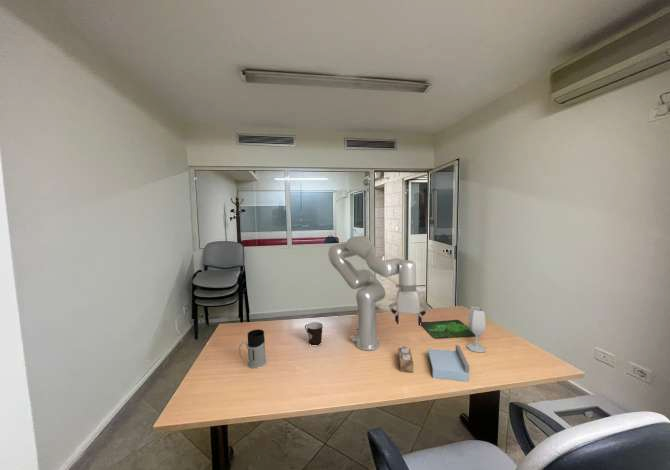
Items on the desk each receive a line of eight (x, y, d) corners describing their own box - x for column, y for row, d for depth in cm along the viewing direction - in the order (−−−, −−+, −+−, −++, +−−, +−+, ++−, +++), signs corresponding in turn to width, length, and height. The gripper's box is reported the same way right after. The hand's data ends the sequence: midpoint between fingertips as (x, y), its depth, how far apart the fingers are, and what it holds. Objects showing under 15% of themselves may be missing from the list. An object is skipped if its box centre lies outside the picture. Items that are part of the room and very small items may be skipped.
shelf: (433, 378, 112) (433, 362, 111) (427, 356, 128) (428, 342, 128) (468, 382, 109) (469, 366, 108) (458, 359, 125) (459, 345, 125)
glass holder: (270, 360, 127) (269, 331, 126) (247, 377, 115) (245, 344, 114) (257, 356, 132) (256, 327, 130) (234, 371, 120) (232, 339, 118)
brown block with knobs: (400, 372, 117) (400, 358, 116) (398, 357, 128) (398, 344, 128) (413, 373, 116) (413, 359, 115) (409, 358, 128) (410, 345, 127)
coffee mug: (325, 345, 141) (324, 327, 140) (309, 348, 138) (309, 330, 137) (318, 335, 152) (318, 319, 151) (304, 338, 149) (303, 321, 148)
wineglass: (488, 353, 130) (490, 312, 128) (469, 352, 131) (470, 311, 129) (482, 345, 138) (483, 306, 136) (464, 343, 140) (465, 305, 138)
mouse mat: (433, 340, 145) (433, 338, 145) (417, 323, 167) (417, 321, 167) (480, 336, 148) (480, 335, 148) (458, 320, 169) (458, 319, 169)
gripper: (387, 289, 119) (388, 325, 120) (428, 290, 114) (428, 328, 116) (389, 284, 126) (389, 319, 127) (427, 286, 122) (427, 322, 123)
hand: (408, 323), depth 122 cm, fingers open, 9 cm apart
